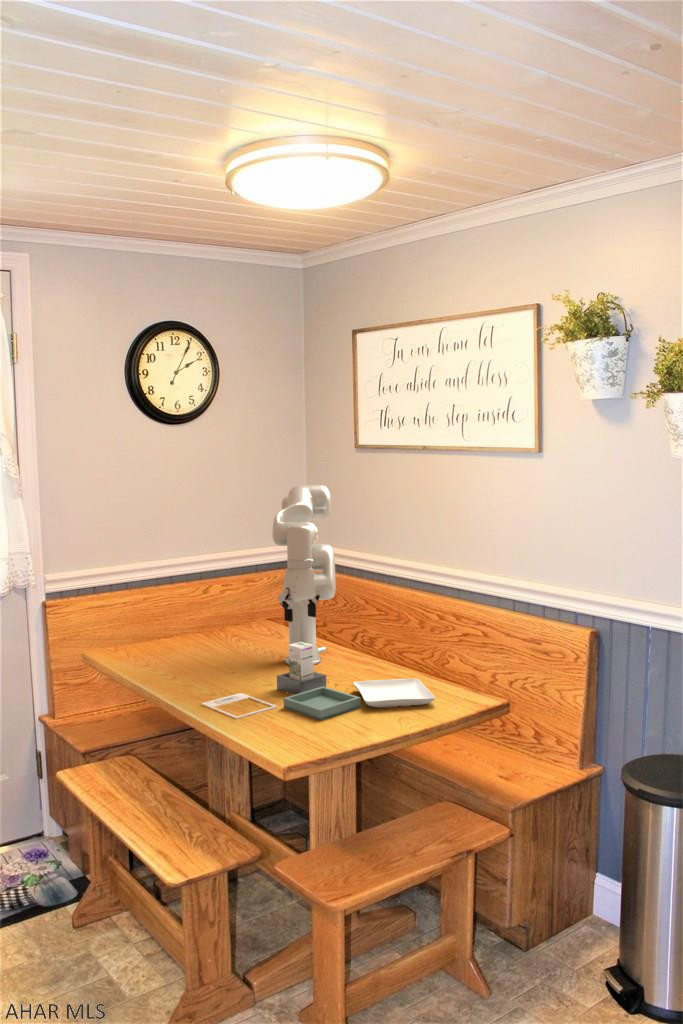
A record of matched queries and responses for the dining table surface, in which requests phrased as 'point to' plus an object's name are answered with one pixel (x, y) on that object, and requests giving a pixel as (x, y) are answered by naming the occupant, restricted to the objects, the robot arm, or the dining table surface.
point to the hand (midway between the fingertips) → (300, 618)
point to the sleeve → (300, 683)
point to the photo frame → (233, 699)
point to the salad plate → (394, 692)
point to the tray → (322, 703)
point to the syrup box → (300, 661)
